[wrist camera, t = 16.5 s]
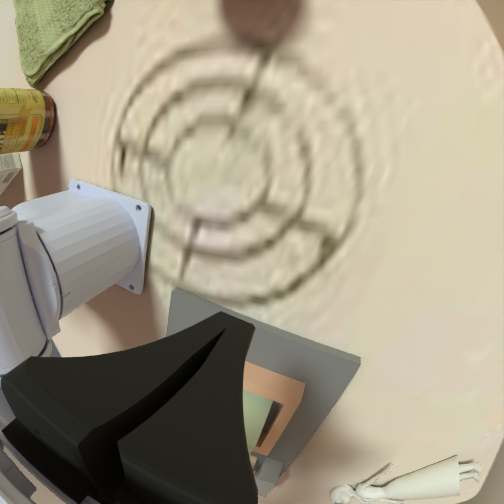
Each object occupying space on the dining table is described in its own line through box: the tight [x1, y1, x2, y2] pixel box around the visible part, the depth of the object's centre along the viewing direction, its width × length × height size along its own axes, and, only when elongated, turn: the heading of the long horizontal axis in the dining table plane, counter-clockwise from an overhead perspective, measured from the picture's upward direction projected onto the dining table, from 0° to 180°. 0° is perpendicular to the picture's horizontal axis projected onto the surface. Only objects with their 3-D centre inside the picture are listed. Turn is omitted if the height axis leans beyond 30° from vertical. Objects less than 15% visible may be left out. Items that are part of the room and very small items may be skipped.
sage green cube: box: [243, 389, 273, 455], centre depth 22 cm, size 5×5×6 cm
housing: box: [166, 288, 360, 497], centre depth 25 cm, size 15×20×4 cm
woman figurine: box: [330, 455, 481, 504], centre depth 23 cm, size 12×4×18 cm
